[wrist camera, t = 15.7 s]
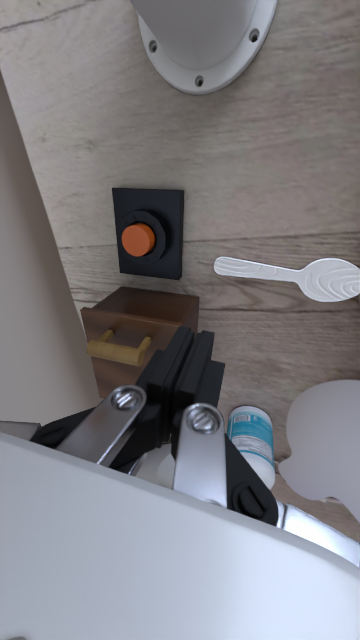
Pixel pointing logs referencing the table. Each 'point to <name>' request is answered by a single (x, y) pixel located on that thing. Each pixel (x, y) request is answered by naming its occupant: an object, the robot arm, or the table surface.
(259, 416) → the pill bottle
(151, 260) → the switch block
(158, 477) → the elbow connector
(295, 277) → the spoon
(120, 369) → the lid
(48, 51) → the table surface
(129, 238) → the button
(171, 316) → the tea box
